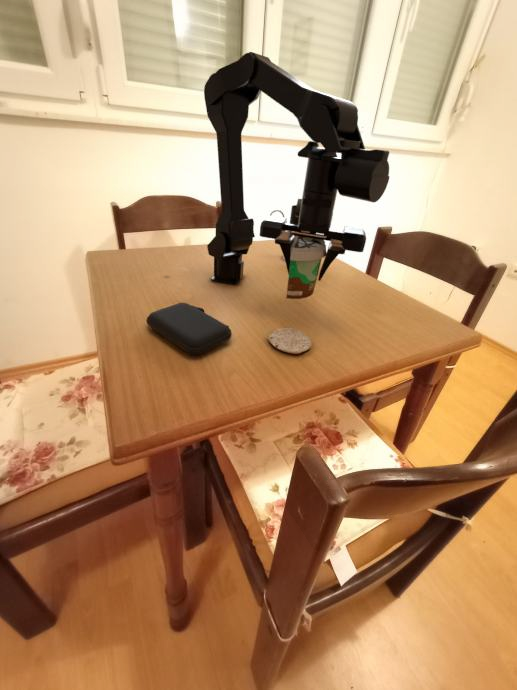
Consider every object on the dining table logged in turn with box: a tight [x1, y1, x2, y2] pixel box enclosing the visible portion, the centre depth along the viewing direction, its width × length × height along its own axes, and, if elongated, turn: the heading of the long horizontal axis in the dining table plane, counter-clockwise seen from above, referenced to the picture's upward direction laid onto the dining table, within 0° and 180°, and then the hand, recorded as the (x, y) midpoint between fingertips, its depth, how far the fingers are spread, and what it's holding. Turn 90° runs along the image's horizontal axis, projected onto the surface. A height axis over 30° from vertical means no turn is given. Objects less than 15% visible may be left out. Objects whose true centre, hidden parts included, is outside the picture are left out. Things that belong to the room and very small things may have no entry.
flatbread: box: [267, 327, 312, 355], centre depth 56 cm, size 8×8×1 cm
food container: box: [285, 236, 327, 300], centre depth 61 cm, size 12×6×10 cm, turn 168°
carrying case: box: [146, 302, 233, 356], centre depth 56 cm, size 11×3×15 cm
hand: (304, 277), depth 62 cm, fingers closed on food container, 5 cm apart
